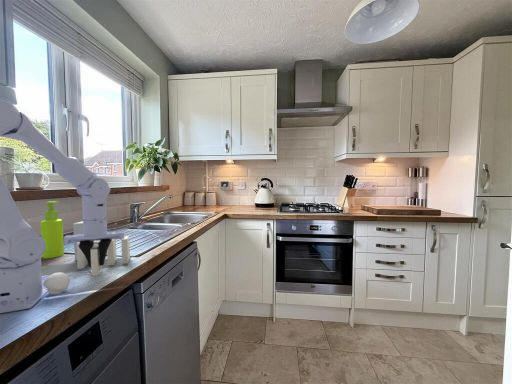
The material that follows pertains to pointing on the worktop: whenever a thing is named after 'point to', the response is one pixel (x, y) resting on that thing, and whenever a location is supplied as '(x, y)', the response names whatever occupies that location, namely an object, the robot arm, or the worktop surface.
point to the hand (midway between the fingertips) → (96, 265)
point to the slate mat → (73, 267)
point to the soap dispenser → (52, 232)
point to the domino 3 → (112, 252)
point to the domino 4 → (125, 250)
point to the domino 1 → (80, 258)
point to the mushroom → (56, 283)
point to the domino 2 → (95, 260)
